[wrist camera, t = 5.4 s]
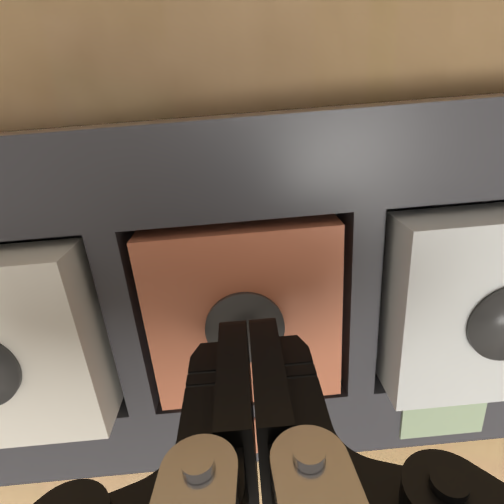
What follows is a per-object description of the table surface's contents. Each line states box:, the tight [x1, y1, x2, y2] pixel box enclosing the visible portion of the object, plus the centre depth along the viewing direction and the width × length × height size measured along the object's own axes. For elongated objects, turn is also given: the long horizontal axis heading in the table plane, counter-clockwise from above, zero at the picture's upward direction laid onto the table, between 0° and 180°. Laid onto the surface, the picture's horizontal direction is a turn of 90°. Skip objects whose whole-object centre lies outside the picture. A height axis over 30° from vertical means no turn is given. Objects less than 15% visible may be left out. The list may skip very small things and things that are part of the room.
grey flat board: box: [0, 93, 504, 486], centre depth 13 cm, size 12×32×2 cm, turn 94°
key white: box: [376, 202, 504, 411], centre depth 12 cm, size 6×6×2 cm
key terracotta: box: [127, 214, 345, 411], centre depth 12 cm, size 6×6×2 cm
